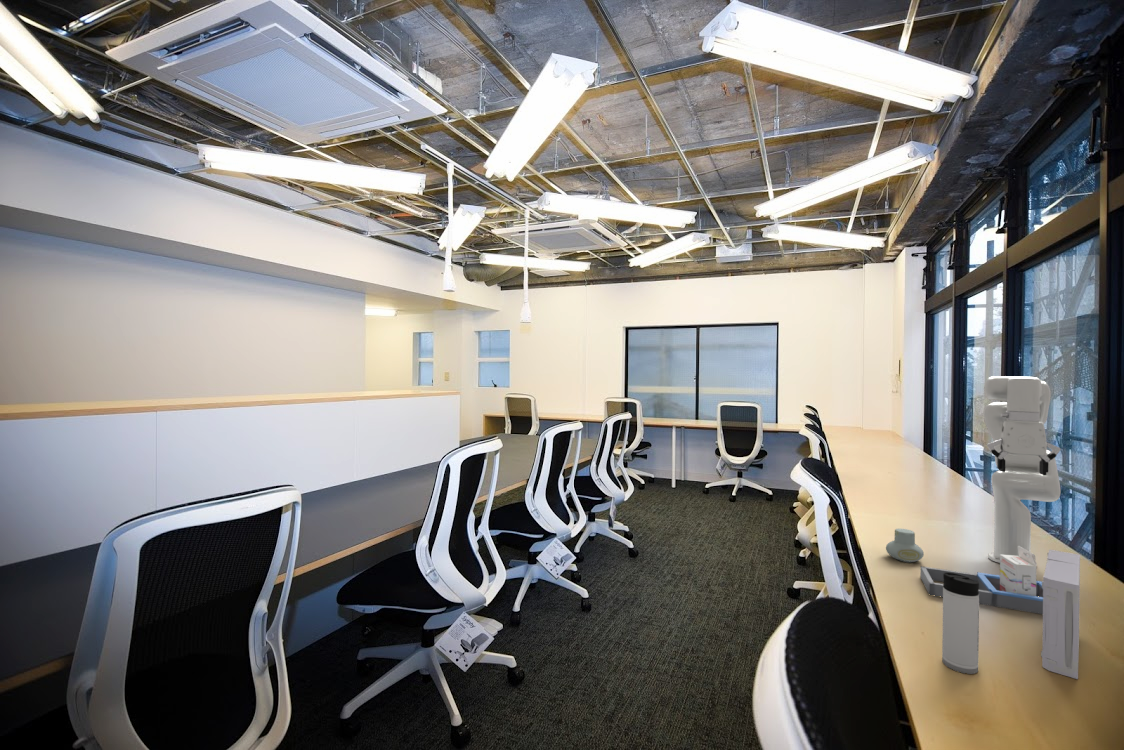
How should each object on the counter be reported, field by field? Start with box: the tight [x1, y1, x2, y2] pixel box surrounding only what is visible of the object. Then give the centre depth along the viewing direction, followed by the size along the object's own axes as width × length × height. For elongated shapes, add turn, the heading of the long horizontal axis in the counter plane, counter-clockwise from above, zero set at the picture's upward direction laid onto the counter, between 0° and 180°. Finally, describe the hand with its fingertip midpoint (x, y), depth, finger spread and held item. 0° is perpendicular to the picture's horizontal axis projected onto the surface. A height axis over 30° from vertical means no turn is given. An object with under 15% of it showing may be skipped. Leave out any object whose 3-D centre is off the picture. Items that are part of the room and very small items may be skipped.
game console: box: [1040, 549, 1081, 680], centre depth 120 cm, size 6×27×20 cm, turn 135°
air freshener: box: [885, 528, 924, 563], centre depth 179 cm, size 11×8×10 cm
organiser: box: [919, 565, 1043, 615], centre depth 150 cm, size 16×30×4 cm, turn 63°
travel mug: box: [941, 573, 980, 675], centre depth 113 cm, size 6×7×20 cm
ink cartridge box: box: [999, 546, 1037, 596], centre depth 147 cm, size 9×5×15 cm, turn 166°
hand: (1022, 473), depth 158 cm, fingers open, 9 cm apart
